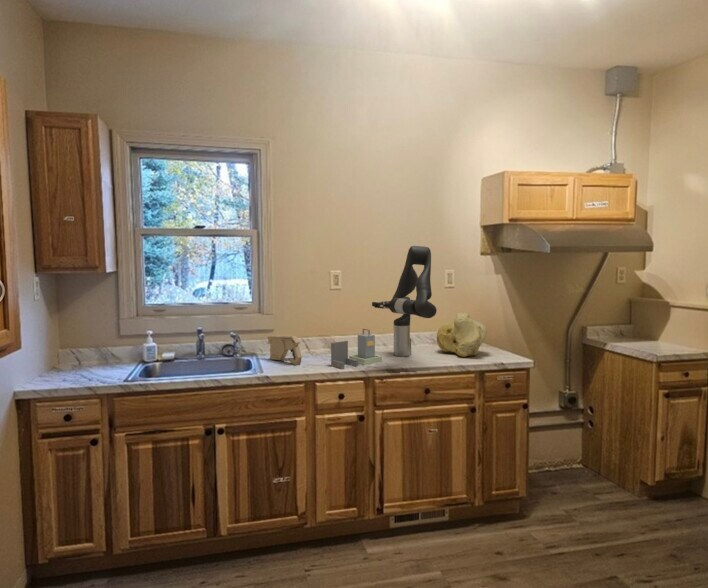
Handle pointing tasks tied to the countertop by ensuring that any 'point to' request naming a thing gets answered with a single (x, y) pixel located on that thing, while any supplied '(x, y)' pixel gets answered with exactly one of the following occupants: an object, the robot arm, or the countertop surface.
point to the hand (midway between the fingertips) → (378, 303)
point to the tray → (367, 361)
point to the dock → (341, 355)
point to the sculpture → (461, 335)
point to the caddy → (366, 345)
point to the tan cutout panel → (284, 348)
